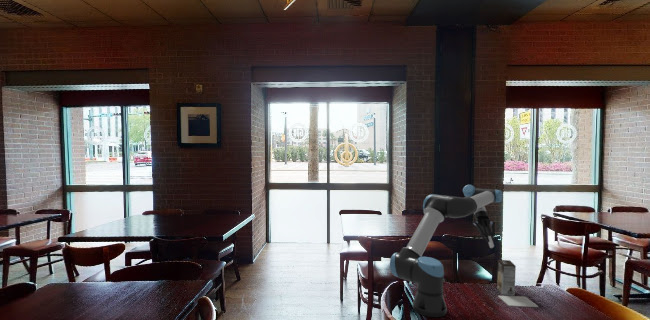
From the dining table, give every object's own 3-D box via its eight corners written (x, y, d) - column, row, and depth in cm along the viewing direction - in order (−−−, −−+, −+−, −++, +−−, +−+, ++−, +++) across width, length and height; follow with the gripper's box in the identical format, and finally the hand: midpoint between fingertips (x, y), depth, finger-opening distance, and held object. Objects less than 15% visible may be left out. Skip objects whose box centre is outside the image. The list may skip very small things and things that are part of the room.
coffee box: (496, 288, 180) (497, 259, 180) (509, 289, 179) (510, 260, 179) (502, 295, 172) (502, 264, 171) (515, 296, 170) (516, 265, 170)
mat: (508, 306, 159) (508, 305, 159) (497, 296, 170) (497, 295, 170) (538, 307, 158) (538, 306, 158) (525, 297, 169) (525, 296, 169)
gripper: (488, 217, 211) (501, 250, 195) (468, 216, 212) (478, 249, 195) (492, 210, 206) (505, 243, 189) (471, 209, 206) (482, 243, 190)
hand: (492, 246), depth 192 cm, fingers closed
